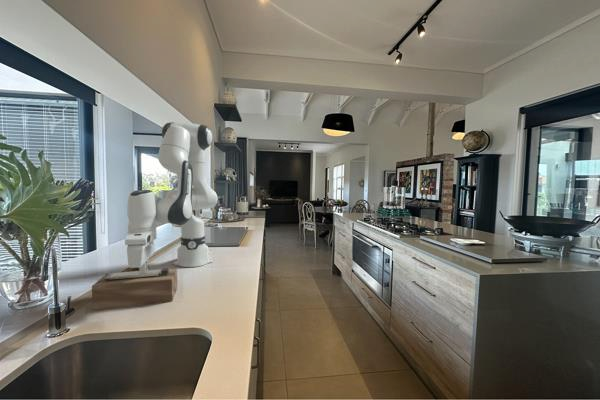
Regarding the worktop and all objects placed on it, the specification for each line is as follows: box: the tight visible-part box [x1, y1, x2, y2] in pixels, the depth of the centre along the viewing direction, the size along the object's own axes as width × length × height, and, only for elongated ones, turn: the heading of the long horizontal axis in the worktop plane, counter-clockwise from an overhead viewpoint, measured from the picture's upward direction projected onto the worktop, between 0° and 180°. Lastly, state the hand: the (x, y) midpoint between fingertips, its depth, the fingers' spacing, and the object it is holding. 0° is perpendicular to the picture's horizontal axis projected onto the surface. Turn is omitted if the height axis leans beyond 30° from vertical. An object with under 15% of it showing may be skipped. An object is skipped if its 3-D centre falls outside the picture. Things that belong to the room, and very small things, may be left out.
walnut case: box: [91, 267, 178, 310], centre depth 97 cm, size 12×24×10 cm, turn 107°
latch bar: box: [105, 268, 162, 280], centre depth 96 cm, size 4×17×1 cm, turn 107°
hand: (143, 272), depth 96 cm, fingers closed, pressing on latch bar
